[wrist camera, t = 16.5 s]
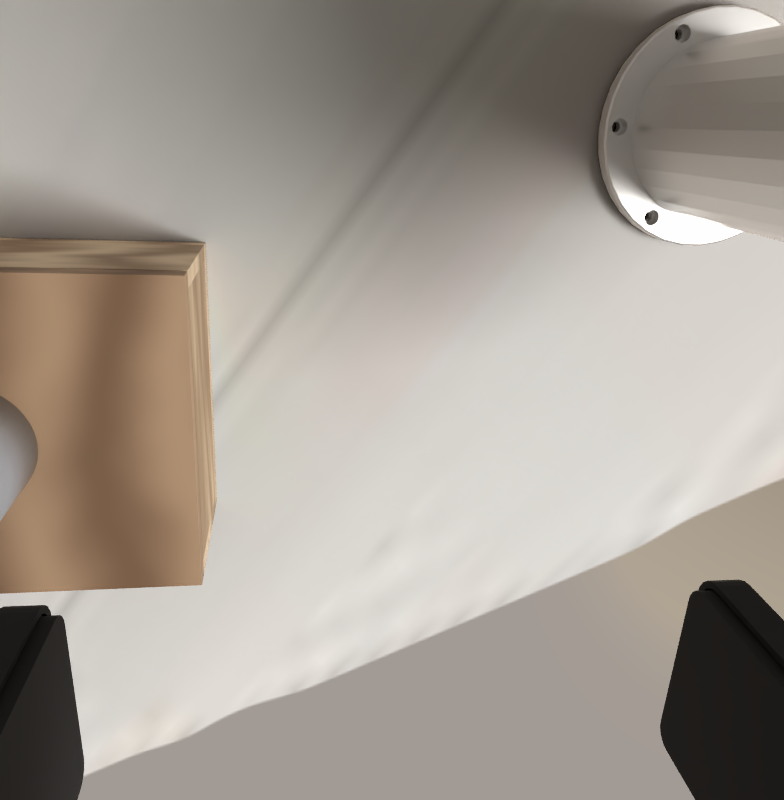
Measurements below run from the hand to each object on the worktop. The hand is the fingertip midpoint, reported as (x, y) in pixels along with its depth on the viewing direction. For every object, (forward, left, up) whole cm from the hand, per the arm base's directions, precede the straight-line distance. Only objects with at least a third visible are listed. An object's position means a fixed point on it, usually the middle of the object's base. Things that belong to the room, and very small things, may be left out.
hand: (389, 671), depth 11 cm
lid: (+16, +7, -25) cm, 30 cm away
